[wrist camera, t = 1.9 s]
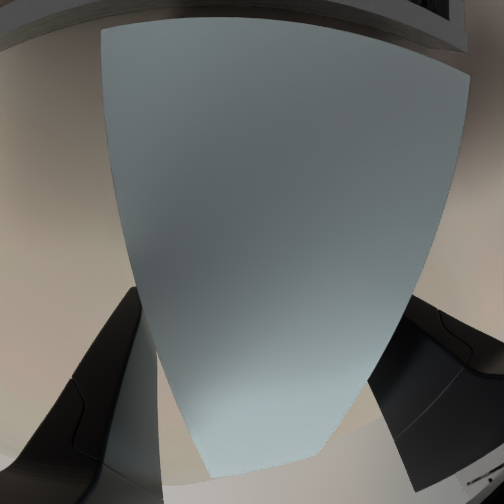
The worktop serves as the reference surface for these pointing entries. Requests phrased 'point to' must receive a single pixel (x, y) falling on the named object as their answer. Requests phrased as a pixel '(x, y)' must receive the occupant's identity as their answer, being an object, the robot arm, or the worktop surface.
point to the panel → (274, 214)
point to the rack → (321, 3)
